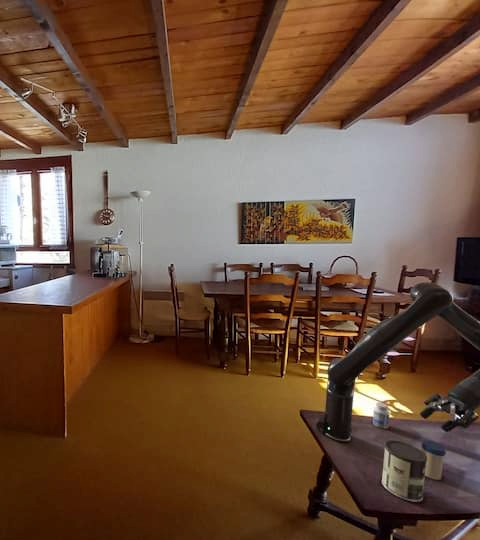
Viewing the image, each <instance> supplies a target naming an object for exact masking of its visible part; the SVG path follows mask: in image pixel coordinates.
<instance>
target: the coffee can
mask: <svg viewBox="0 0 480 540" xmlns="http://www.w3.org/2000/svg"><path fill="white" fill-rule="evenodd" d="M426 461H427V456H426V455H425V453H423V452H422V449H419V447H416V446H414V445H412V444H409V443H407V442H403V441H400V440H395V439H391V440H386V441H385V442H384V455H383V464H382V465H383V466H382V477H381V484H382V485H383V487H384V488H385V489H386V490H387V491H388V492H390V493H391V494H392V495H394V496H396V497H398V498H400V499H401V500H405V501H407V502H412V503H420V502H422V501H423V500H424V488H425V487H424V486H425V478H426V476H425V470H426Z"/></svg>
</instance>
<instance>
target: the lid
mask: <svg viewBox="0 0 480 540" xmlns="http://www.w3.org/2000/svg"><path fill="white" fill-rule="evenodd" d="M422 448H423V449H424V450H425V451H427V452H429V453H431V454H434V455H437V456H444V457H445V456H446V454H447V453H446V452H447V450H446V448H445V446H443V445H442V444H440V443H438V442H436V441H433V440H427V439H425V440H423V441H422V443H421V449H422Z"/></svg>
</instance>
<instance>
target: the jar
mask: <svg viewBox="0 0 480 540" xmlns="http://www.w3.org/2000/svg"><path fill="white" fill-rule="evenodd" d="M421 451H422V452H423V453H425V455H426V456H427V461H426V470H425V477H427V478H429V479H432V480H436V481H439V480H442V475H443V467H444V459H445V456H437V455H434V454H431V453H429V452H427V451H425V450H424V449H423V448H422V447H421Z"/></svg>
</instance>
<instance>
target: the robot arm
mask: <svg viewBox="0 0 480 540" xmlns="http://www.w3.org/2000/svg"><path fill="white" fill-rule="evenodd" d="M409 294H410V298H411V300H412V301H413V302H411V303H410V304H409V305H408V306H407V307H406V308H405V309H404V310H402V311H401V312H400V313H398V314H395V315H393V316H391V317H389V318H386V319H383V320H382V321H379V322H378V323H376V324H375V325H374V326H373V327H371V328H370V329H369V330H368V331H367V332H366V333H365V334H364V335H363V336H362V337H361V338H360V339H359V340H358V342H357V343H356V344H355V346H354V347H353V348H352V350H351V351H350V352H348V353H347V354H346V355H345V356H343V357H337V358H334V359H332V360H331V361H330V362H329V365H328V367H327V382H326V383H327V384H326V391H325V392H326V394H325V409H324V413H323V416H322V415H320V416H319V418H318V420H317V422H316V423H315V427H316V430H317V431H318V432H319V433H320V432H322V435H324V436H326V437H328V438H330V439H331V440H334V441H335V442H341V443H348V442H350V441H351V433H352V419H353V406H354V396H355V385H356V379H357V378H358V377H359V376H360V375H361V374H362V373H363V372H364V371H365V370H366V369H368V367H370V366H371V365H372V364H374V363H376V362H377V361H378V360H380V359H381V358H383V357H384V356H385V355H387V354H388V353H390V352H391V351H392V350H393V349H395V348H397V346H399V345H400V344H401V343H402V342H403V341H404V340H406V339H407V338H408V337H409V336H411V335H413V333H415V332H416V331H417V330H418V329H419V328H421V327H422V326H424V325H425V324H426V323H429V321H431V320H433V319H435V318H436V317H439V318H440V319H442V320H443V321H444V322H445V323H447V324H448V325H449V326H450V327H451V328H452V329H453V330H455V331H456V332H457V334H459V335H460V336H461V337H462V338H463V339H464V340H466V341H467V342H468V343H469V344H470V345H472V346H473V347H474V348H476V349H477V350H478V351H480V320H478V319H476V318H475V317H474V316H472V315H470V314H469V313H468V312H466V311H465V310H464V309H462V308H461V307H460V306H458V305H457V304H456V303H455V302H454V296H453V294H452V293H451V292H450V291H449V290H447V289H446V288H445V287H443V286H441V285H440V284H437V283H433V282H430V281H429V282H428V281H425V282H419V283H416V284H415V285H413V286H412V287H411V289H410V292H409ZM423 404H425V406H426V407H425V408H423V410H421V411H420V412H419V415H420V417H421V418H423V419H424V420H427V419H429V417H431V416H432V415H433V414H434V413H437V412H441V413H443V412H445V413H446V414H449V415H450V419H448V420H447V421H446V422H444V423H443V424H441V425H440V428H441V429H442V430H443V431H444V432H445V433H449V432H451V431H453V430H454V429H456V428H457V427H462V428H463V429H467V428H468V427H470V426H471V425H472V424H474V423H475V422H476V421H477V420H478V419H479V418H480V416H479V415H478V414H477V413H476V412H475V411H477V409H479V408H480V368H479V369H478V370H476V371H475V372H474V373H472V374H471V375H470V376H468V377H467V378H465V379H463V380H461V381H460V382H458V384H456V385H455V386H454V387H452V388H451V389H450V390H449V391H447V396H442V395H441V394H440V393H435V394H433V395H432V396H431V397H429V398H427V399H426V400H425V401H424V402H423Z"/></svg>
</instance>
